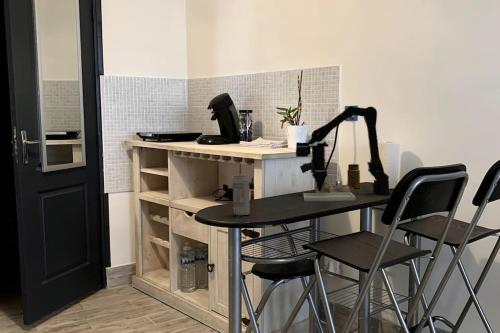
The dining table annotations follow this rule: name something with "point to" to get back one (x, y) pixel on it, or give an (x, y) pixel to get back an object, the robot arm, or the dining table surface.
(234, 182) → the energy drink can
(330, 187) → the wooden block frame
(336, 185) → the cylinder
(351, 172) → the condiment
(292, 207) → the dining table surface
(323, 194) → the tray
